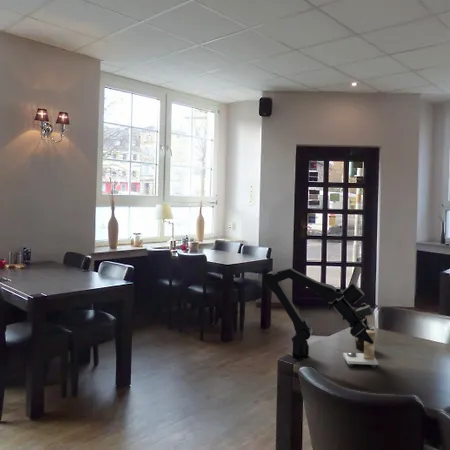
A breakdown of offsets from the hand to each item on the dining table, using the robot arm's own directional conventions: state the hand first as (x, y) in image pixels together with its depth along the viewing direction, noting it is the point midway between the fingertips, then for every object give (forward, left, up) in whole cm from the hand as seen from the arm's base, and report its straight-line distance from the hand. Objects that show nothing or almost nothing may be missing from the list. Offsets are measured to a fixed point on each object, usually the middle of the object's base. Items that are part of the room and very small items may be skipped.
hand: (373, 339), depth 185 cm
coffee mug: (+1, +21, -10) cm, 24 cm away
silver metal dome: (-8, +2, -8) cm, 11 cm away
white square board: (-5, 0, -10) cm, 11 cm away
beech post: (-1, 0, -8) cm, 8 cm away
